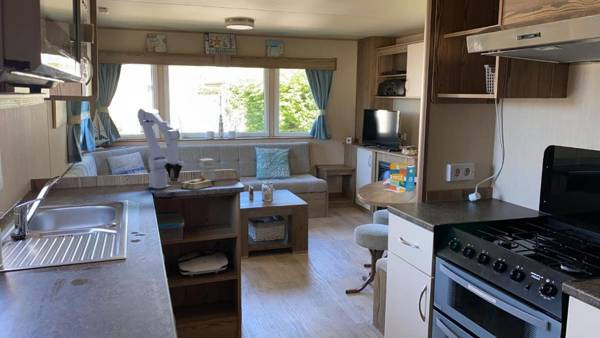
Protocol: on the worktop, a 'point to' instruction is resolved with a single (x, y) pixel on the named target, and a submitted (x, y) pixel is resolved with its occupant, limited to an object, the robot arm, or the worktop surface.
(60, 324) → the worktop surface
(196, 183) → the hitch block
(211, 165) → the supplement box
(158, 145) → the robot arm
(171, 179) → the steel peg
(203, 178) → the latch flap
